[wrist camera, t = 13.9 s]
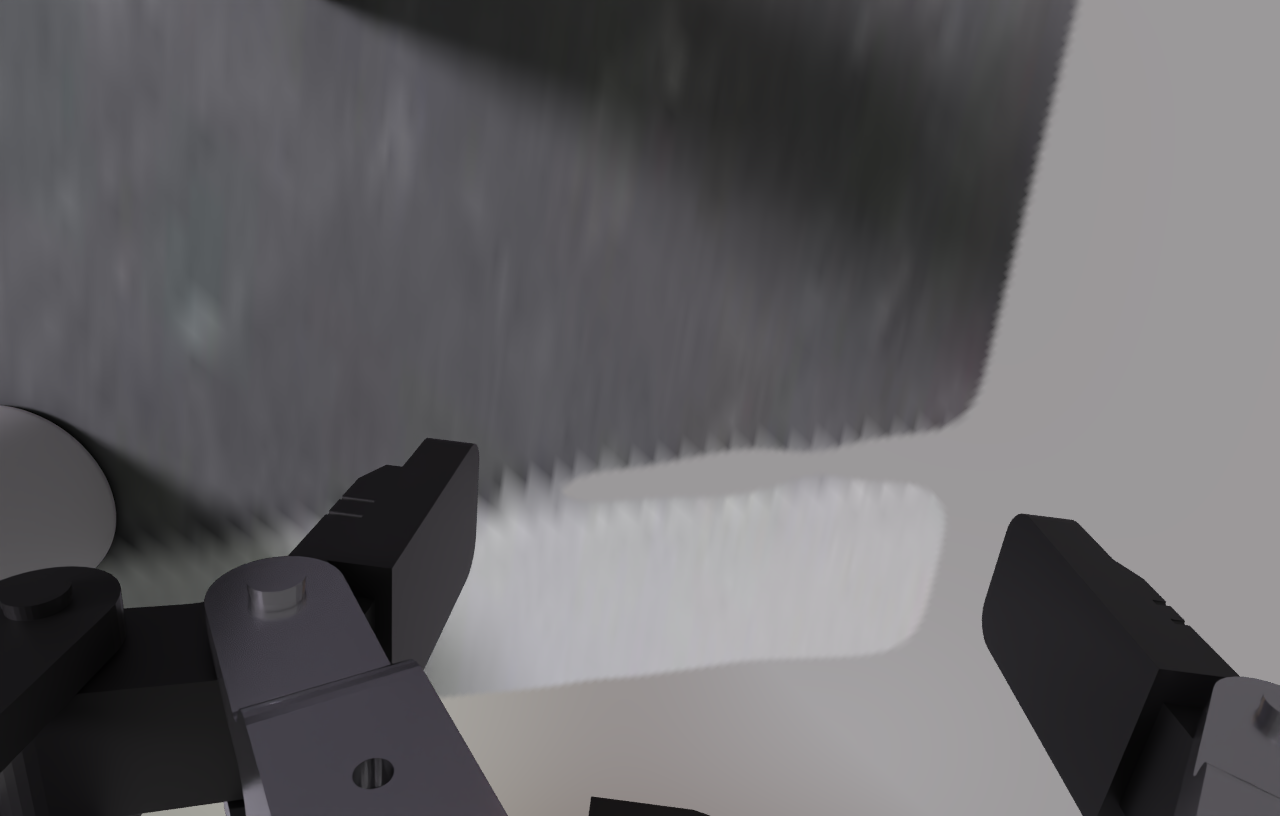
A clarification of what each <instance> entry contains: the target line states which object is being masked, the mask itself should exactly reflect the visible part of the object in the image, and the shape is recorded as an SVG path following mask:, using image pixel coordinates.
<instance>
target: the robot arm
mask: <svg viewBox="0 0 1280 816" xmlns="http://www.w3.org/2000/svg"><path fill="white" fill-rule="evenodd" d="M478 477H479V450H478V446H477V445H476V444H472V443H464V442H456V441H448V440H440V439H432V438H426V439H425V440H424V441H423V442H422V444H421V445H420V446H419V447H418V449H417V450H416V451H415V452H414V453H413V455H412V456H411V457H410V458H409V460H408V461H407V462H406V463H405V465H404V466H403V467H400V466H392V465H385V466H383V467H381V468H379V469H377V470H375V471H372V472H370V473H368V474H366V475H364V476H362V477H360V478H358V479H357V481H356V482H355V483H354V484H353V485H352V486H351V487H350V488H349V489H348V490H347V492H346V493H345V494H344V495H343V497H342V500H341V499H339V500H338V501H337V503H336V504H335V505H334V506H333V507H332V508H331V509H330V510H329V514H328V515H327V514H326V515H325V516H324V517H323V518H322V519H321V520H320V521H319V522H318V523H317V525H316V526H315V527H314V528H313V529H312V530H311V531H310V532H309V533H308V534H307V536H306V537H305V538H304V539H303V540H302V541H301V542H300V543H299V544H298V545H297V547H296V548H295V549H294V550H293V551H292V552H291V553H290V554H289V555H288V556H281V557H272V558H266V559H261V560H257V561H253V562H250V563H247V564H244V565H241V566H239V567H237V568H235V569H232V570H231V571H229V572H227V573H226V574H224V575H222V576H221V577H220V578H219V579H217V580H216V581H215V582H214V583H213V584H212V585H211V586H210V588H209V589H208V591H207V593H206V596H205V599H204V602H201V603H194V604H184V605H169V606H155V607H140V608H126V609H124V608H123V601H122V594H121V587H120V583H119V582H118V580H117V579H116V578H115V577H114V576H113V575H111V574H109V573H107V572H105V571H102V570H99V569H95V568H89V567H78V566H66V567H53V568H45V569H39V570H34V571H29V572H25V573H22V574H18V575H14V576H11V577H8V578H5V579H3V580H0V816H141V814H142V813H148V812H155V811H162V810H169V809H176V808H184V807H191V806H198V805H205V804H212V803H219V802H224V809H225V813H226V816H508V815H507V814H506V812H505V810H504V808H503V807H502V805H501V803H500V801H499V800H498V798H497V796H496V795H495V793H494V791H493V790H492V788H491V786H490V784H489V782H488V781H487V779H486V777H485V776H484V774H483V772H482V770H481V769H480V767H479V765H478V764H477V762H476V760H475V758H474V757H473V755H472V753H471V751H470V750H469V748H468V746H467V745H466V743H465V741H464V739H463V738H462V736H461V734H460V733H459V731H458V729H457V728H456V726H455V724H454V722H453V720H452V719H451V717H450V715H449V714H448V712H447V710H446V709H445V707H444V705H443V703H442V702H441V700H440V698H439V696H438V695H437V693H436V691H435V690H434V688H433V686H432V684H431V683H430V681H429V679H428V677H427V676H426V674H425V672H424V671H423V670H424V668H425V666H426V664H427V662H428V660H429V658H430V655H431V653H432V651H433V649H434V647H435V645H436V643H437V641H438V639H439V637H440V634H441V632H442V630H443V628H444V626H445V624H446V622H447V620H448V618H449V616H450V613H451V611H452V609H453V607H454V605H455V603H456V601H457V599H458V597H459V595H460V592H461V590H462V588H463V586H464V584H465V582H466V580H467V577H468V575H469V572H470V568H471V565H472V560H473V555H474V549H475V541H476V523H477V500H478ZM1165 603H1166V601H1165V600H1164V599H1163V598H1162V597H1161V596H1159V594H1158V593H1157V592H1156V591H1155V590H1154V589H1153V588H1152V587H1151V586H1150V585H1149V584H1148V583H1147V582H1146V581H1145V580H1144V579H1143V578H1141V577H1140V576H1138V575H1136V574H1135V573H1133V572H1132V571H1130V570H1129V569H1127V568H1126V567H1124V566H1122V565H1121V564H1119V563H1118V562H1116V561H1115V560H1113V559H1112V558H1111V557H1110V556H1109V555H1108V554H1107V553H1106V552H1105V551H1104V550H1103V548H1102V547H1101V546H1100V545H1099V544H1098V543H1097V542H1096V541H1095V540H1094V539H1093V538H1092V537H1091V536H1090V535H1089V534H1088V533H1087V532H1086V531H1085V530H1084V529H1083V528H1082V527H1081V526H1080V525H1079V524H1078V523H1077V522H1076V521H1074V520H1068V519H1061V518H1053V517H1045V516H1037V515H1029V514H1018V515H1017V516H1015V517H1014V519H1012V521H1011V522H1010V524H1009V526H1008V529H1007V532H1006V535H1005V538H1004V541H1003V544H1002V548H1001V551H1000V554H999V557H998V561H997V564H996V567H995V570H994V573H993V576H992V580H991V583H990V586H989V589H988V593H987V596H986V599H985V603H984V607H983V613H982V629H983V635H984V640H985V643H986V645H987V647H988V649H989V651H990V653H991V655H992V656H993V658H994V660H995V661H996V663H997V665H998V667H999V669H1000V670H1001V672H1002V674H1003V676H1004V677H1005V679H1006V681H1007V683H1008V684H1009V686H1010V688H1011V690H1012V692H1013V693H1014V695H1015V697H1016V699H1017V700H1018V702H1019V704H1020V706H1021V707H1022V709H1023V711H1024V713H1025V715H1026V716H1027V718H1028V720H1029V722H1030V723H1031V725H1032V727H1033V729H1034V730H1035V732H1036V734H1037V736H1038V737H1039V739H1040V741H1041V742H1042V745H1043V746H1044V748H1045V750H1046V752H1047V753H1048V755H1049V757H1050V759H1051V760H1052V762H1053V764H1054V766H1055V767H1056V769H1057V771H1058V773H1059V774H1060V776H1061V778H1062V779H1063V782H1064V783H1065V785H1066V787H1067V789H1068V790H1069V792H1070V794H1071V796H1072V797H1073V799H1074V801H1075V803H1076V805H1077V806H1078V808H1079V810H1080V811H1081V813H1082V815H1083V816H1280V685H1277V684H1274V683H1271V682H1267V681H1263V680H1259V679H1255V678H1248V677H1240V676H1239V675H1238V674H1237V673H1236V672H1235V671H1234V670H1233V669H1232V668H1231V667H1230V666H1229V665H1228V664H1227V663H1226V662H1225V661H1224V660H1223V659H1222V658H1221V657H1220V656H1219V655H1218V654H1217V653H1216V652H1215V651H1214V650H1213V649H1212V648H1211V647H1210V646H1209V645H1208V644H1207V643H1206V642H1205V641H1204V640H1203V639H1202V638H1201V637H1200V636H1199V635H1198V634H1197V633H1196V632H1195V631H1194V630H1193V629H1192V628H1191V627H1190V626H1188V625H1185V624H1184V622H1185V621H1184V620H1183V619H1182V618H1181V617H1180V616H1179V614H1178V613H1176V611H1175V610H1174V609H1173V608H1172V607H1171V606H1166V604H1165ZM589 816H709V815H707V814H704V813H700V812H698V811H695V810H690V809H683V808H675V807H667V806H660V805H652V804H645V803H637V802H629V801H622V800H614V799H607V798H599V797H591V802H590V810H589Z"/></svg>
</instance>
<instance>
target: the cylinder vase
mask: <svg viewBox="0 0 1280 816" xmlns="http://www.w3.org/2000/svg"><path fill="white" fill-rule="evenodd" d="M115 529H116V508H115V502H114V498H113V494H112V491H111V488H110V486H109V483H108V481H107V479H106V477H105V475H104V473H103V471H102V470H101V468H100V467H99V465H98V464H97V462H96V461H95V459H94V458H93V457H92V456H91V454H90V453H89V452H88V451H87V450H86V449H85V448H84V447H83V446H82V445H81V444H80V443H79V442H78V441H77V440H76V439H75V438H74V437H72V436H71V435H70V434H69V433H67V432H66V431H65V430H63V429H62V428H60V427H59V426H57V425H56V424H54V423H52V422H50V421H49V420H47V419H45V418H43V417H41V416H38V415H36V414H33V413H31V412H28V411H25V410H22V409H18V408H14V407H9V406H3V405H0V580H3V579H5V578H8V577H11V576H14V575H18V574H22V573H25V572H29V571H34V570H39V569H45V568H53V567H66V566H78V567H89V568H95V567H97V566H98V564H99V563H100V562H101V561H102V560H103V558H104V557H105V556H106V554H107V552H108V550H109V548H110V546H111V544H112V541H113V538H114V534H115Z"/></svg>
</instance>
